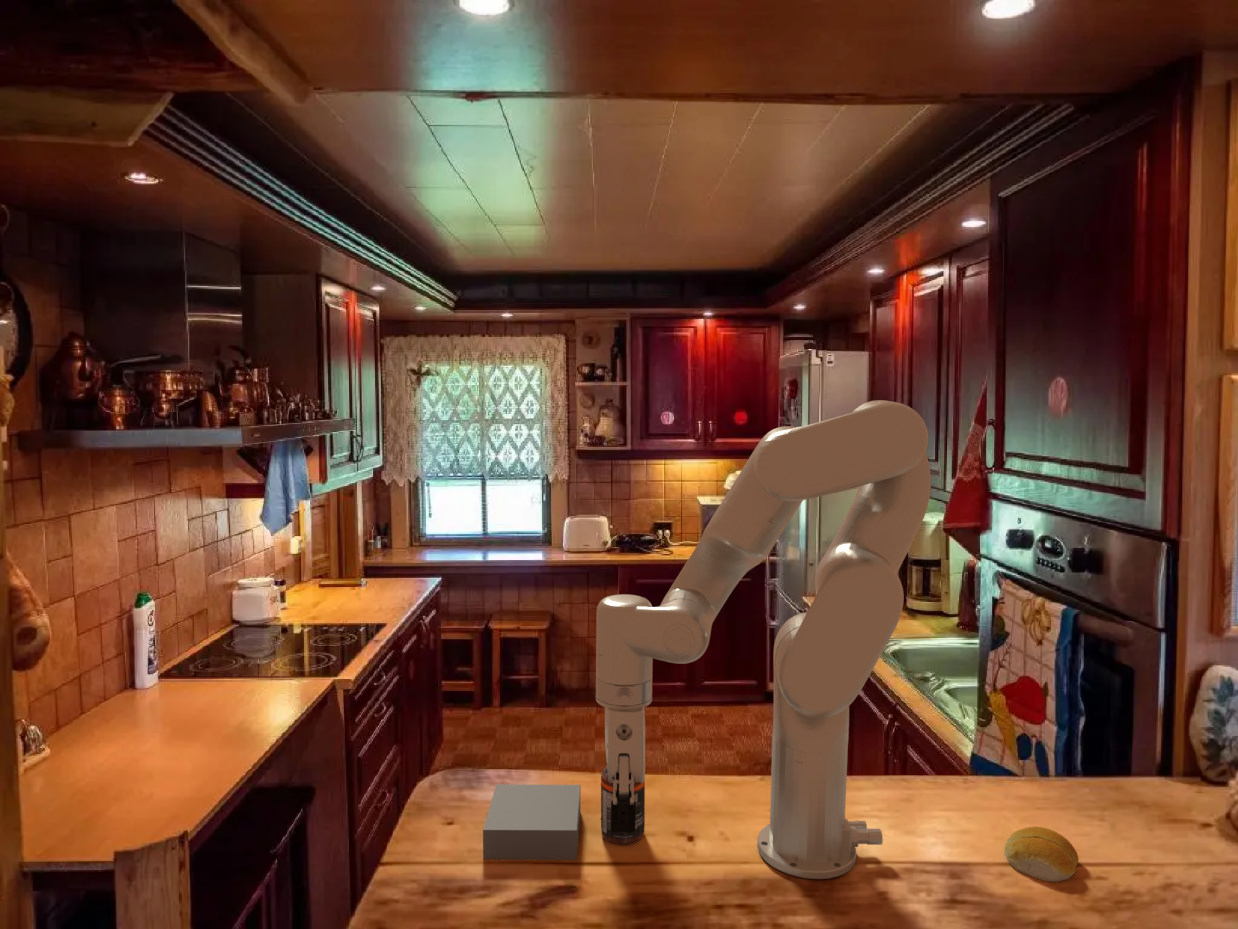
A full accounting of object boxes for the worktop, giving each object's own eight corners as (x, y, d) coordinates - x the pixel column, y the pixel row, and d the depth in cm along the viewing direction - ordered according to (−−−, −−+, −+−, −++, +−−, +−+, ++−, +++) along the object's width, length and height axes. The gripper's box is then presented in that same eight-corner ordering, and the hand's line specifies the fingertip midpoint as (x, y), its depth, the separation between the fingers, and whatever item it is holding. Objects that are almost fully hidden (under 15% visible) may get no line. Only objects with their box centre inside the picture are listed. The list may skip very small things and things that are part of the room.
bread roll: (1080, 858, 108) (1082, 829, 107) (1071, 892, 100) (1073, 861, 100) (1011, 837, 112) (1013, 809, 112) (998, 868, 105) (999, 838, 105)
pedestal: (580, 811, 118) (580, 785, 117) (576, 860, 106) (576, 830, 105) (496, 811, 118) (496, 784, 117) (483, 859, 106) (482, 830, 105)
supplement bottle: (615, 819, 116) (615, 741, 115) (652, 831, 113) (653, 751, 112) (592, 838, 111) (592, 758, 110) (630, 852, 108) (631, 768, 107)
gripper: (655, 715, 101) (653, 854, 103) (649, 667, 118) (647, 787, 120) (594, 714, 101) (593, 854, 103) (597, 666, 118) (596, 786, 120)
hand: (622, 816), depth 111 cm, fingers closed on supplement bottle, 6 cm apart
